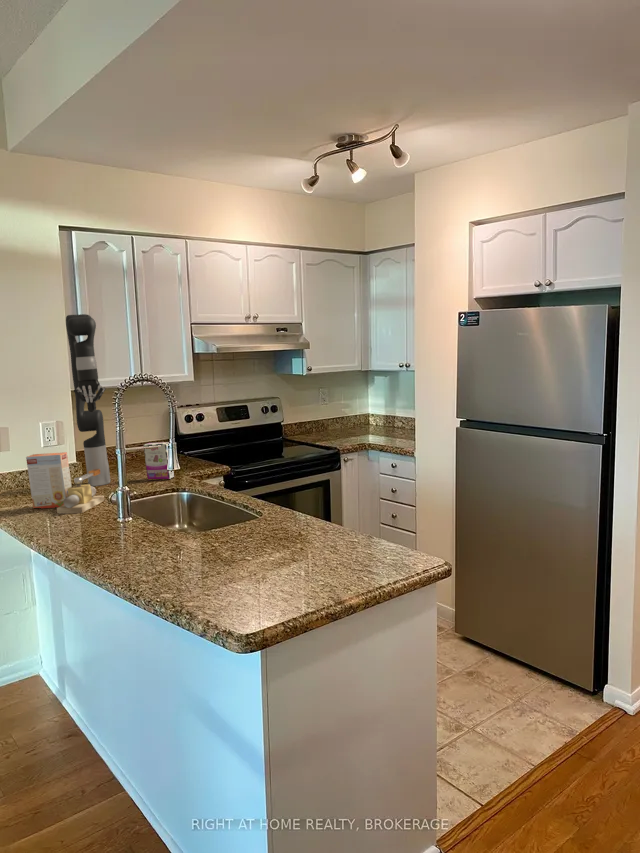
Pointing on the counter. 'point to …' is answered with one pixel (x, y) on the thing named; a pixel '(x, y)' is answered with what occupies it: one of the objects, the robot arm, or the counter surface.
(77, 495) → the valve on pipe
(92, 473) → the valve lever
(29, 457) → the cracker box
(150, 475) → the candy bar box
